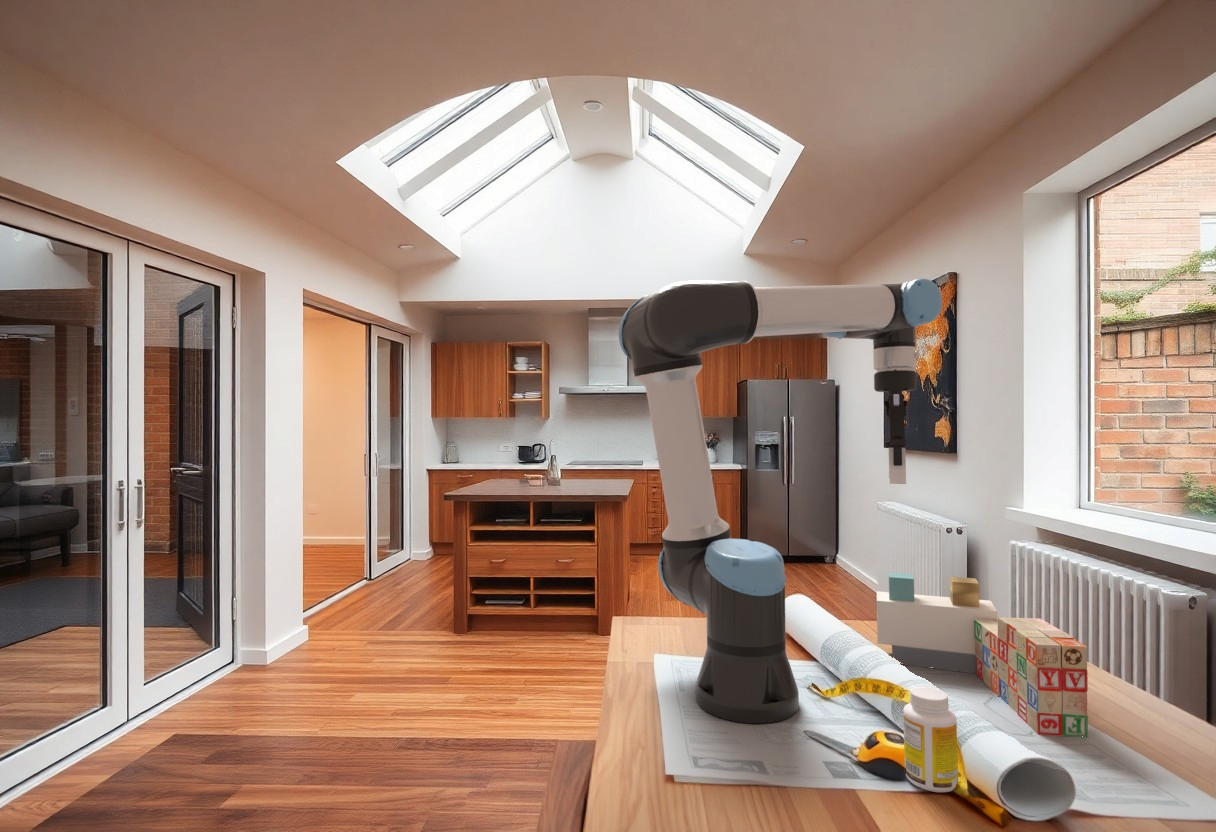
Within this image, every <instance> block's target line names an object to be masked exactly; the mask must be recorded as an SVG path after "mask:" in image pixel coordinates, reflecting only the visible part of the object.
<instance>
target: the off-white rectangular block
mask: <svg viewBox="0 0 1216 832" xmlns="http://www.w3.org/2000/svg"><path fill="white" fill-rule="evenodd" d="M974 620H998V610H997V608H995V606H994V604H993V602H992V601H991V600H987V599H986V600H985V599H979V607H968V606H957V605H952V602H951V600H950V596H938V595H926V594H925V595H924V594H916V593H914V602H909V601H898V600H889V591H887V592H886V591H876V626H877V629H876V630H877V632H876V635H877V638H876V639H877V644H879V645H887V646H892V645H895V646H904V647H913V648H922V649H931V650H940V651H949V652H958V653H968V654H976V653H975V637H974Z"/></svg>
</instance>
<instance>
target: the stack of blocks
mask: <svg viewBox="0 0 1216 832" xmlns="http://www.w3.org/2000/svg"><path fill="white" fill-rule="evenodd" d="M974 637H975V653H976V674H975V675H977V676H978V677H979V678H980V679H981V680H982V679H983V680H982V681H983V682H984V684H985V685H987V686H988V688H989V689H991V690H992V691H993V692H994V693H995V694H996V695H997V697H1001V698H1002V699H1003V700H1004V701H1005V702H1006V703H1007V704H1008V705H1007V704H1006V705H1007V706H1009V707H1010V708H1011V710H1013V711H1014V712H1015V713H1016V714H1017V716H1018V717H1019V718H1020V719H1021V720H1023V722H1025V724H1027V726H1029V728H1030V729H1031V730H1032V731H1033V732H1034V733H1036V734H1037V735H1042V734H1043V736H1061V737H1075V736H1078V737H1077V738H1079V737H1080V738H1089V715H1088V690H1089V689H1088V688H1089V685H1088V684H1089V683H1088V681H1089V680H1088V679H1089V677H1088V647H1087V646H1086V645H1085V644H1084V643H1082V642H1080V641H1078V640H1076V639H1075V637H1074V636H1072V635H1070V634H1069V633H1067V632H1065V631H1063V630H1061V629H1060V628H1058V627H1056V626H1055V625H1052V624H1050V623H1049V622H1047V621H1045V620H1043V619H1042V618H1040V617H1039V618H1034V617H1033V618H1031V617H1030V618H1029V617H1028V618H1027V617H999V616H997V620H974ZM1001 698H1000V699H1001ZM1002 699H1001V700H1002ZM1003 700H1002V701H1003ZM1004 701H1003V702H1004ZM1005 702H1004V703H1005ZM1082 736H1083V737H1082Z"/></svg>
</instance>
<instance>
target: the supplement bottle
mask: <svg viewBox="0 0 1216 832" xmlns="http://www.w3.org/2000/svg"><path fill="white" fill-rule="evenodd" d="M909 692H910V696H909V701H910V702H909V703H907V704H905V705H904V707H903V710H902V712H903V713H902V714H903V715H902V716H903V717H902V719H903V748H904V749H903V750H904V751H903V753H904V754H903V755H904V757H903V758H904V767H905V766H906V774H905V776H906V778H907V779H908V781H909V782H911V784H913V785H914V786H916V787H918V788H919V789H922V790H925V791H929V792H932V793H933V792H934V793H949V792H952V791H954V790H955V789H954V787H955V785H956V784H957V782H958V783H959V769H958V768H959V766H958V764H959V762H958V761H959V760H958V731H957V729H958V728H957V716H956V715H955V713H954V712H953V711H952V710H951V709H950V708H949V705H950V703H949V695H948V694H947V693H946V692H945V691H943V690H941V689H939V688H935V687H932V686H931V687H929V686H915V687H912V688H911V689H910V691H909ZM953 789H954V790H953Z"/></svg>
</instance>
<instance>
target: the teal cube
mask: <svg viewBox="0 0 1216 832" xmlns="http://www.w3.org/2000/svg"><path fill="white" fill-rule="evenodd" d="M888 592H889V600H898V601H909V602H914V594H915V578H914V574H913V573H903V572H900V573H899V572H888Z"/></svg>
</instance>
